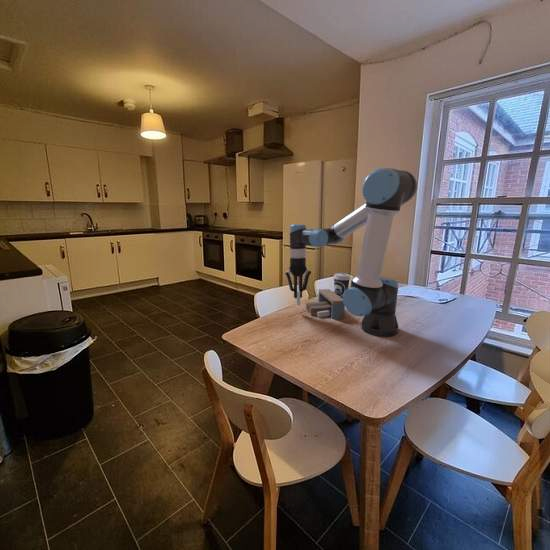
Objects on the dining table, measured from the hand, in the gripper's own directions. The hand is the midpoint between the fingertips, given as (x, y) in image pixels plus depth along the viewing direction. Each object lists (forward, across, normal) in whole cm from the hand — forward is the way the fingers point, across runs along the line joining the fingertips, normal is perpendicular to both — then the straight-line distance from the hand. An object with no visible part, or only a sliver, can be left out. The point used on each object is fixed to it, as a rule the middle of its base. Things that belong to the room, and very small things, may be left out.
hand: (298, 304), depth 145 cm
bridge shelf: (+5, -14, -1) cm, 15 cm away
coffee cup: (+5, -30, -17) cm, 34 cm away
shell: (+5, -12, -1) cm, 13 cm away
